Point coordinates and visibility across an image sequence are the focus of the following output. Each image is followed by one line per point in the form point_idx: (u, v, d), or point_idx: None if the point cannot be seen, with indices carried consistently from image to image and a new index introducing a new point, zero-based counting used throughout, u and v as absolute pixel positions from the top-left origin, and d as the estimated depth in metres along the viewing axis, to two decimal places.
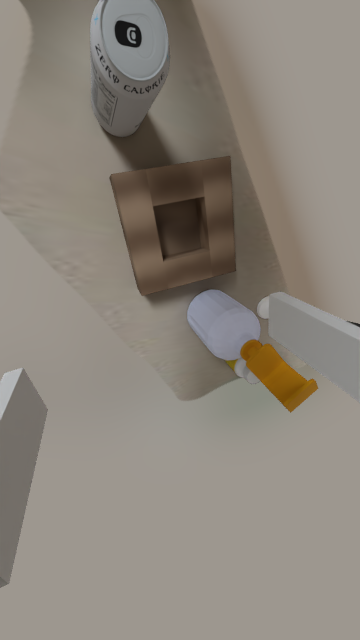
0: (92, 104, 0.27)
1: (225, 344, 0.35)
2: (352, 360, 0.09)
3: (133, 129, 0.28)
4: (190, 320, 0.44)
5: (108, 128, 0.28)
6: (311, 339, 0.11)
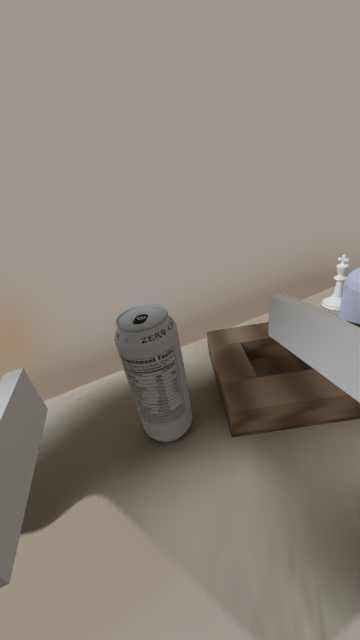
0: (165, 433, 0.26)
1: None
2: (352, 360, 0.09)
3: None
4: None
5: (186, 420, 0.27)
6: (311, 339, 0.11)
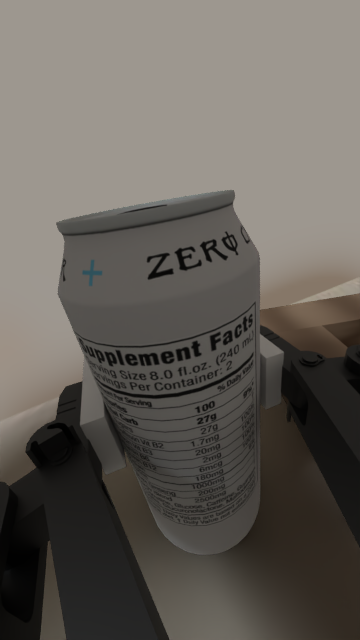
0: (209, 542, 0.10)
1: None
2: None
3: None
4: None
5: (255, 501, 0.11)
6: None
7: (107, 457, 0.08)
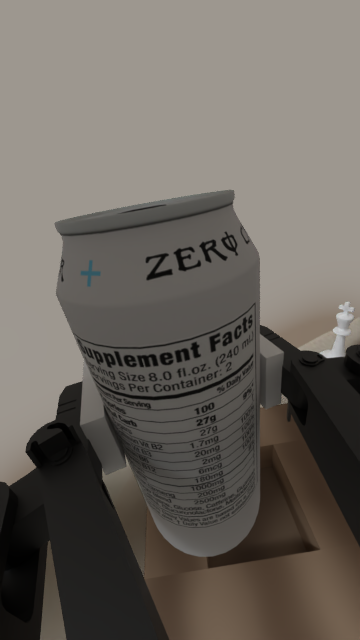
0: (208, 544, 0.10)
1: None
2: None
3: None
4: None
5: (255, 502, 0.11)
6: None
7: (107, 457, 0.08)
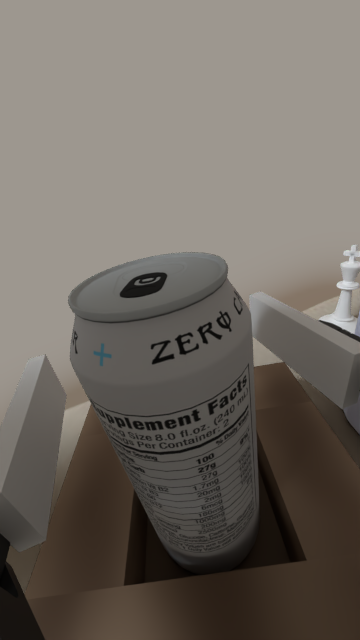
0: (212, 565, 0.11)
1: None
2: (321, 358, 0.10)
3: None
4: None
5: (255, 524, 0.12)
6: (286, 338, 0.12)
7: (16, 534, 0.07)
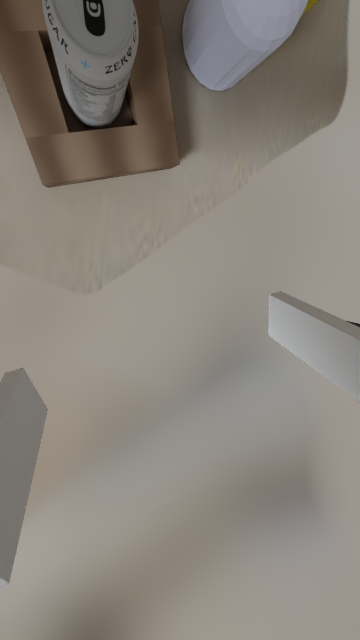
0: (101, 125, 0.27)
1: (278, 4, 0.20)
2: (352, 360, 0.09)
3: None
4: (223, 84, 0.30)
5: None
6: (311, 339, 0.11)
7: None
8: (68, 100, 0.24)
